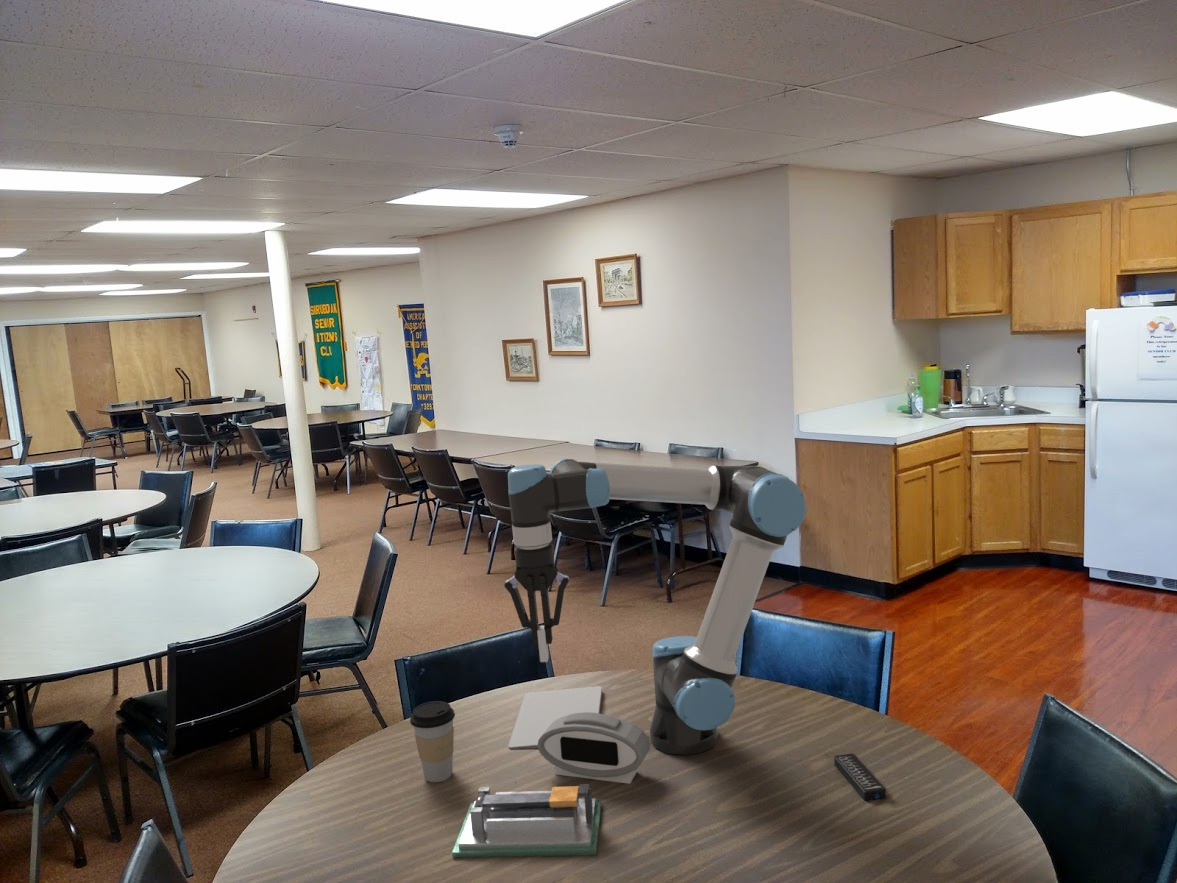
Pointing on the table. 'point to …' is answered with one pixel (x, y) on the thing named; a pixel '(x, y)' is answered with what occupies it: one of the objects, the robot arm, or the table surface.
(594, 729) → the alarm clock
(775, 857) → the table surface
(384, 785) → the table surface
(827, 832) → the table surface
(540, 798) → the orange tipped grey lever
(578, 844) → the heatsink
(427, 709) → the coffee cup
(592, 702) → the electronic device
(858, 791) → the multiport hub
